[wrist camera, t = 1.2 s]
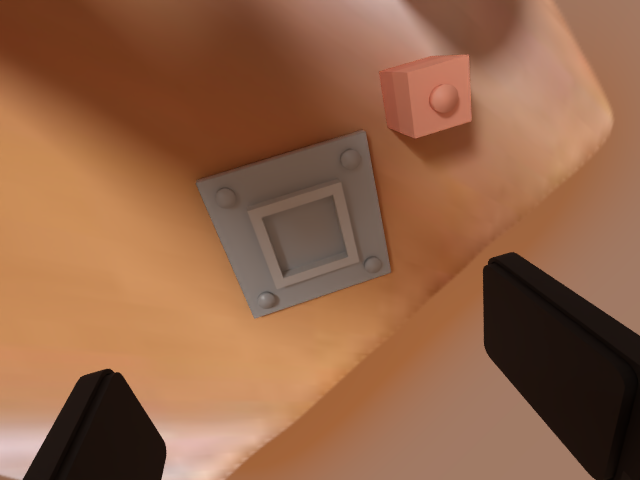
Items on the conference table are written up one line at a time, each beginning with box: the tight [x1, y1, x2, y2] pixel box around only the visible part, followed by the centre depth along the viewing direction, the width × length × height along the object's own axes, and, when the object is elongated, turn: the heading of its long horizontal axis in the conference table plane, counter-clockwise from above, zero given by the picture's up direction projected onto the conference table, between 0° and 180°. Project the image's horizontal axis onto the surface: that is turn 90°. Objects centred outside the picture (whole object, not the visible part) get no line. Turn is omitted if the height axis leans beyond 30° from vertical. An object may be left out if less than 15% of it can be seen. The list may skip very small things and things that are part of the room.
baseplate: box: [196, 130, 391, 319], centre depth 36 cm, size 16×16×2 cm
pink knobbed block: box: [379, 55, 472, 139], centre depth 31 cm, size 5×5×7 cm
